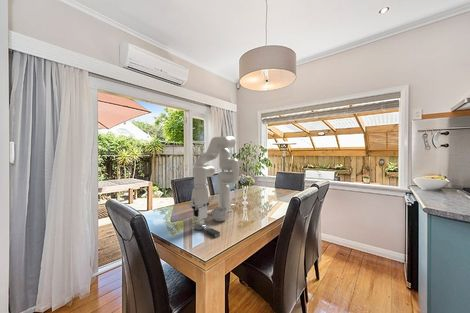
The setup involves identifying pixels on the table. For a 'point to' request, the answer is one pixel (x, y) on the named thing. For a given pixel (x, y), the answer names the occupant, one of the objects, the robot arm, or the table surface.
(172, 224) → the table surface
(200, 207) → the wood-topped grey cube
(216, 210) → the teacup
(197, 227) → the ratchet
